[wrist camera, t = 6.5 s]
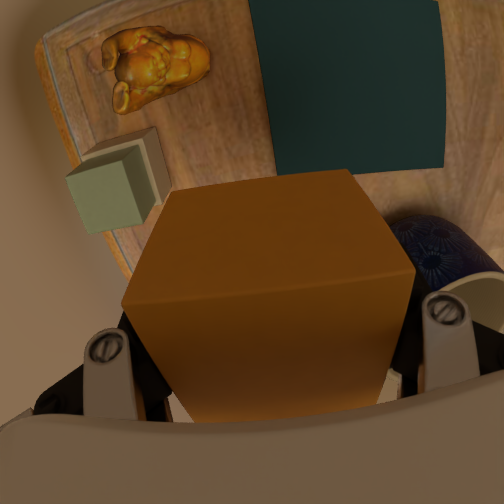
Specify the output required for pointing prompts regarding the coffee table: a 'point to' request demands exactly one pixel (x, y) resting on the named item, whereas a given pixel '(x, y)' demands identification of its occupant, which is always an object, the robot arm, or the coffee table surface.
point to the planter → (454, 267)
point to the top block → (271, 297)
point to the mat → (353, 83)
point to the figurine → (152, 65)
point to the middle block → (112, 190)
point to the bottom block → (150, 156)
